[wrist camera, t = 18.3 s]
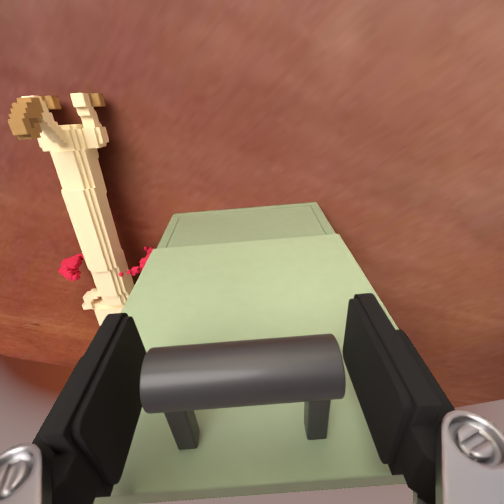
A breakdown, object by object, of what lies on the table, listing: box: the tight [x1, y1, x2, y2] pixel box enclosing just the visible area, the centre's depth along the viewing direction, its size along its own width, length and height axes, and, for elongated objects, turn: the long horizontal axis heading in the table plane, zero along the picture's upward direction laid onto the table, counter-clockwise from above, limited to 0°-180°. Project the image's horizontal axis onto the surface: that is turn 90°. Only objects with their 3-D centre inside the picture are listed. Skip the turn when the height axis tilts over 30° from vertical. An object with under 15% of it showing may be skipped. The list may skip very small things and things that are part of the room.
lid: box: [93, 234, 407, 504], centre depth 15 cm, size 16×15×5 cm
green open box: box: [157, 202, 336, 249], centre depth 30 cm, size 15×15×7 cm
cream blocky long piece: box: [7, 93, 154, 326], centre depth 27 cm, size 10×9×25 cm
